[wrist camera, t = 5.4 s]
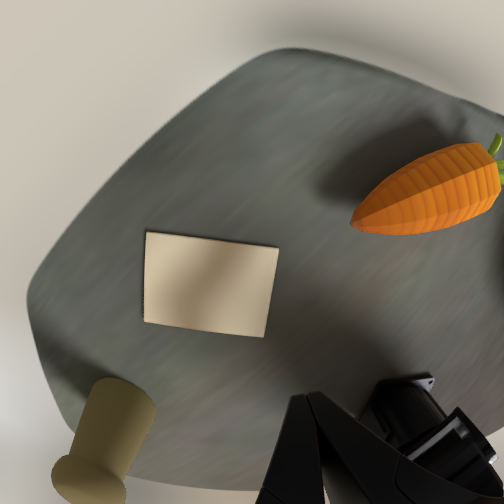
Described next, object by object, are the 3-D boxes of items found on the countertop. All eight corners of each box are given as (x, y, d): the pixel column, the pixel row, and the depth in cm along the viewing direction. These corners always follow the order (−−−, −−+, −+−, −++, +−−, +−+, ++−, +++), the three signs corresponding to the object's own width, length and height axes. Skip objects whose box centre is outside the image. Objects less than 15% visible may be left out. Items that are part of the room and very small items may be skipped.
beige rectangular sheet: (278, 248, 18) (279, 249, 17) (263, 335, 19) (263, 337, 19) (148, 231, 17) (146, 232, 17) (145, 319, 18) (144, 321, 18)
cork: (94, 414, 21) (52, 502, 10) (89, 367, 19) (27, 464, 9) (155, 434, 21) (130, 533, 10) (158, 389, 20) (122, 506, 9)
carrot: (341, 166, 13) (509, 119, 12) (327, 196, 18) (478, 145, 17) (382, 263, 12) (540, 182, 11) (357, 269, 17) (503, 200, 16)
